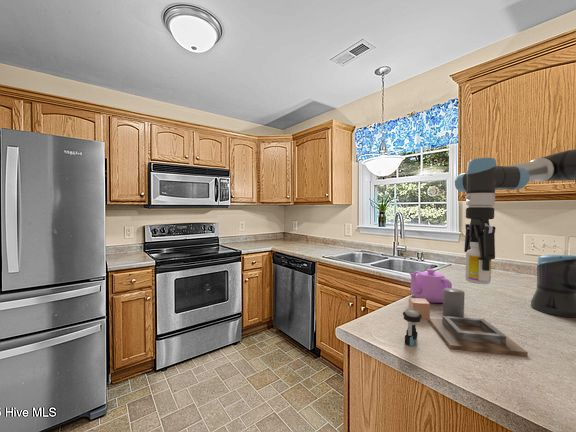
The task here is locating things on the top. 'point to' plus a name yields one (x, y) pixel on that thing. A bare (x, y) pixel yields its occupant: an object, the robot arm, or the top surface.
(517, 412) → the top surface
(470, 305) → the top surface
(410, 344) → the push button
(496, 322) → the top surface
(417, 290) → the teapot
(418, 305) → the terracotta block
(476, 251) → the supplement bottle
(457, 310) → the grey rounded capsule
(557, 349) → the top surface
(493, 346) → the socket board
